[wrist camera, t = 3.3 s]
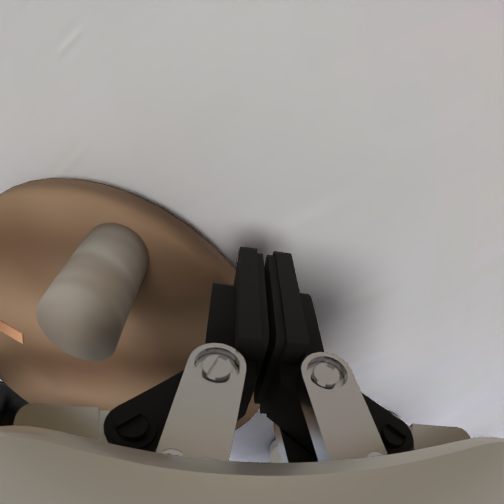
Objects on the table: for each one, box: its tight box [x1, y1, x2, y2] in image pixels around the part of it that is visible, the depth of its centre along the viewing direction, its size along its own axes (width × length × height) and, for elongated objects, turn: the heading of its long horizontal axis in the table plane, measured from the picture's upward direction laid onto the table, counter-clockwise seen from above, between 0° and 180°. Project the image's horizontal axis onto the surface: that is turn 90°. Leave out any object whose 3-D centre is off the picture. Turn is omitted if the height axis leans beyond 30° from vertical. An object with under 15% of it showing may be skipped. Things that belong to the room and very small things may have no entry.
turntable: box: [0, 178, 260, 430], centre depth 14 cm, size 20×20×6 cm
